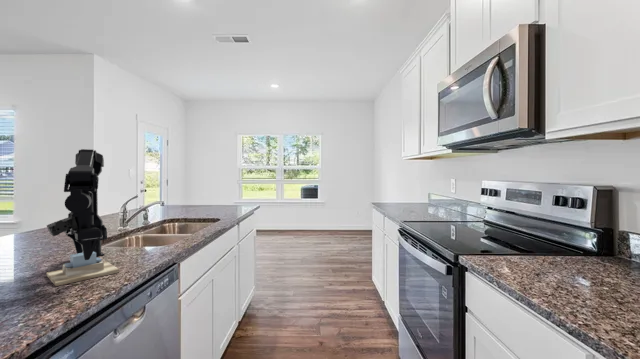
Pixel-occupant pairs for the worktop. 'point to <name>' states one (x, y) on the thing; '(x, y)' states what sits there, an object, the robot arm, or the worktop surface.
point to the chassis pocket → (81, 273)
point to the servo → (81, 260)
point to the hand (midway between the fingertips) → (83, 257)
